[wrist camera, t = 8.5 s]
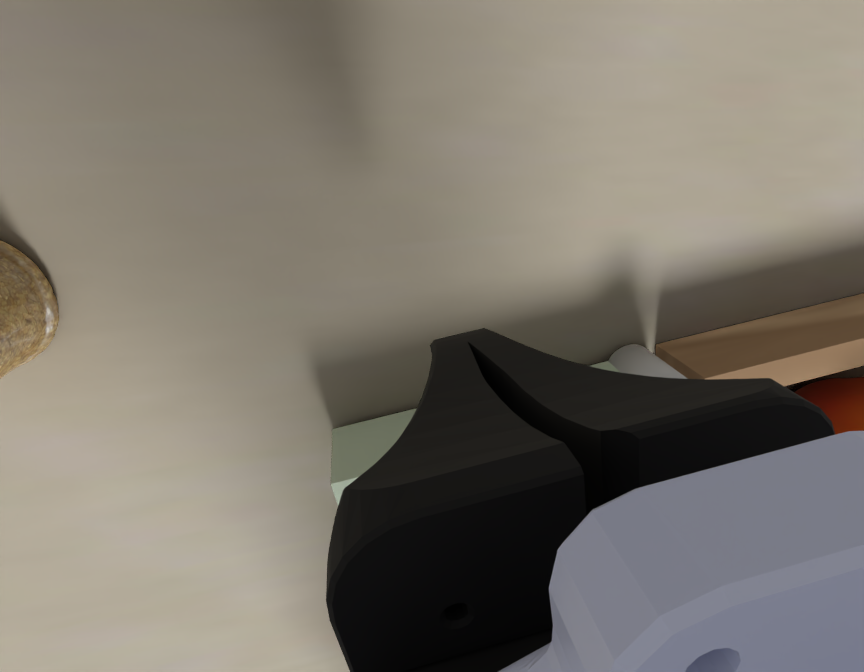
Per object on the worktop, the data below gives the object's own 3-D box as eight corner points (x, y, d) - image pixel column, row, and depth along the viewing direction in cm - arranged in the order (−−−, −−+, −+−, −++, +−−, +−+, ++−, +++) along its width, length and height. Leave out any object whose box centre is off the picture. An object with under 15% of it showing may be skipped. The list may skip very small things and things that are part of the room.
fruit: (681, 455, 21) (957, 529, 14) (753, 337, 24) (1002, 353, 18) (725, 568, 24) (965, 668, 18) (783, 450, 27) (1001, 498, 21)
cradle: (886, 508, 27) (972, 568, 23) (653, 575, 26) (705, 649, 22) (948, 272, 21) (1074, 302, 17) (655, 344, 20) (725, 392, 16)
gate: (651, 339, 20) (709, 378, 17) (651, 382, 20) (706, 427, 17) (328, 418, 19) (326, 476, 16) (342, 460, 19) (342, 522, 16)
